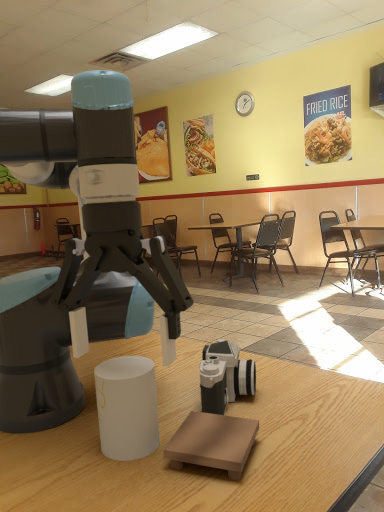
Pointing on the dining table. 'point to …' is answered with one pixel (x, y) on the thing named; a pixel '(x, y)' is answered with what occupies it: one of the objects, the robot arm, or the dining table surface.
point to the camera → (224, 376)
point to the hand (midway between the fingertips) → (123, 358)
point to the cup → (127, 407)
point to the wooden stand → (213, 442)
